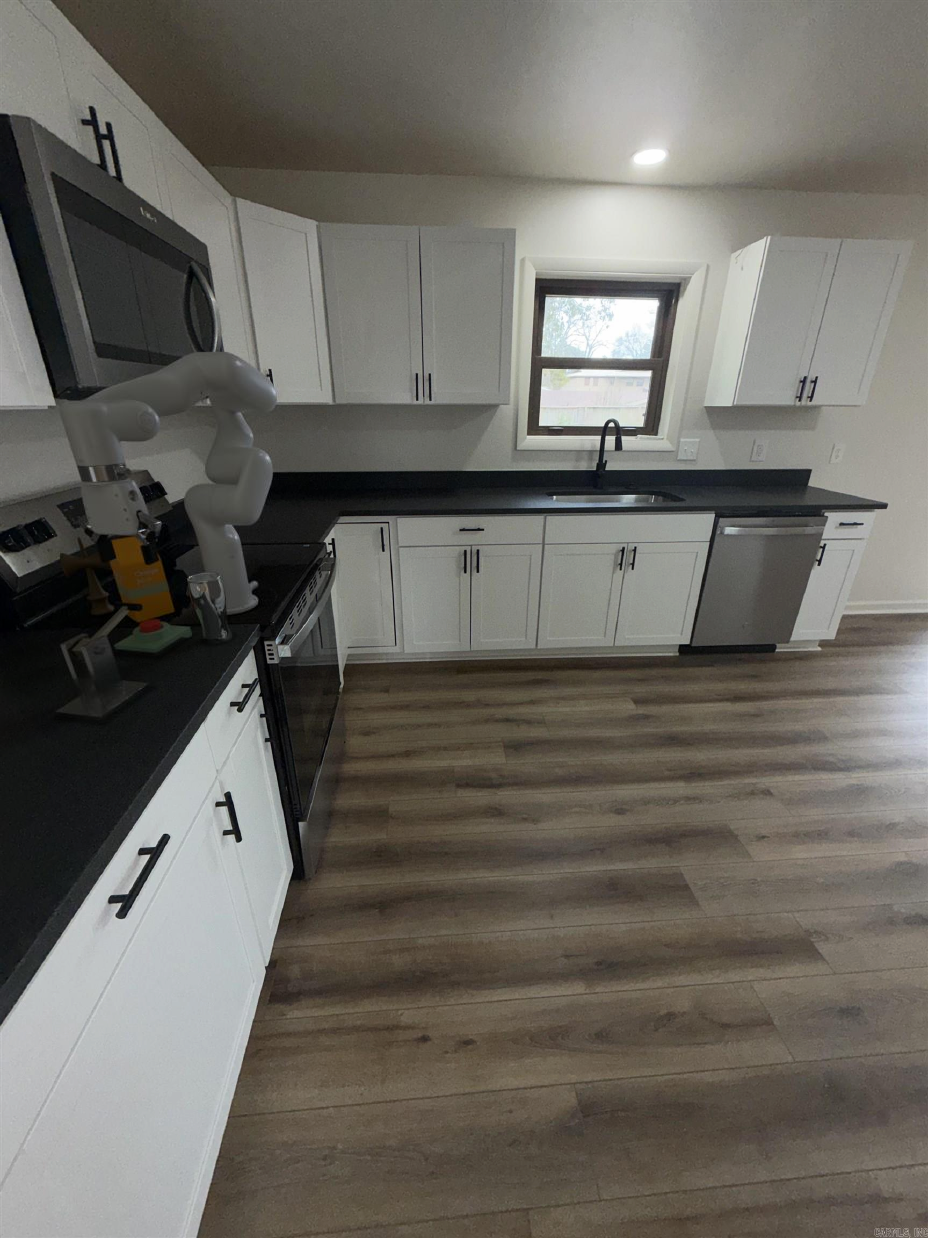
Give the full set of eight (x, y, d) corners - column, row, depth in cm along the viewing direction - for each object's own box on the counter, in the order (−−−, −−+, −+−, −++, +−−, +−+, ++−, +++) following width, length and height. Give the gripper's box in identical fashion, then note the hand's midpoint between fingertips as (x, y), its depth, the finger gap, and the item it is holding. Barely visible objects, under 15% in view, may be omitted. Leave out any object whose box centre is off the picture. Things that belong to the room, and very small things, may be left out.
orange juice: (175, 611, 127) (155, 535, 119) (137, 623, 121) (113, 543, 113) (162, 604, 132) (142, 530, 124) (125, 614, 126) (101, 537, 118)
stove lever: (122, 607, 95) (115, 598, 93) (145, 609, 94) (138, 600, 92) (73, 658, 86) (64, 649, 84) (97, 661, 85) (89, 651, 83)
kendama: (80, 613, 127) (53, 537, 118) (125, 605, 132) (102, 531, 123) (80, 621, 122) (52, 542, 114) (126, 612, 127) (102, 536, 119)
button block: (154, 632, 117) (149, 616, 115) (192, 635, 115) (188, 619, 113) (116, 654, 107) (111, 637, 105) (157, 657, 105) (152, 641, 104)
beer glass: (221, 646, 110) (207, 583, 104) (194, 644, 111) (178, 581, 105) (240, 633, 116) (228, 572, 110) (214, 630, 117) (200, 570, 111)
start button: (150, 625, 112) (148, 618, 111) (166, 626, 111) (164, 619, 110) (136, 633, 108) (134, 625, 107) (153, 634, 107) (151, 627, 107)
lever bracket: (109, 684, 96) (88, 624, 90) (150, 688, 94) (131, 628, 89) (57, 717, 86) (30, 652, 80) (102, 723, 84) (78, 657, 79)
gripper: (160, 471, 94) (182, 558, 101) (80, 469, 96) (107, 554, 104) (130, 478, 87) (156, 570, 95) (45, 476, 90) (77, 565, 97)
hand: (130, 561), depth 99 cm, fingers open, 9 cm apart
